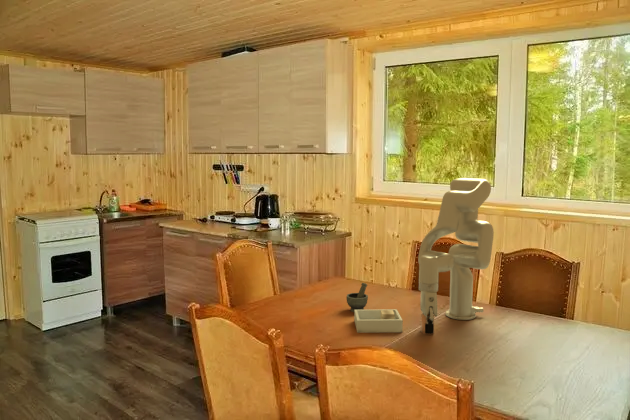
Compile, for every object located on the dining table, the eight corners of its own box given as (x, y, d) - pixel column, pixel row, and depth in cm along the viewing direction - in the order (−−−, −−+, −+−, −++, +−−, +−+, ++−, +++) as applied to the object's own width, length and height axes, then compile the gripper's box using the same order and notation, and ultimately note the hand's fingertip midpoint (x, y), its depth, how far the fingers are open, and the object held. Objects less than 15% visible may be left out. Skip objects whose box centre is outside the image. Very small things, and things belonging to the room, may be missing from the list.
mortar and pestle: (357, 315, 228) (358, 288, 226) (342, 310, 234) (342, 284, 233) (374, 309, 235) (374, 283, 234) (358, 305, 242) (358, 280, 241)
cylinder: (432, 330, 209) (432, 313, 208) (435, 334, 204) (435, 317, 203) (419, 330, 209) (420, 313, 208) (422, 334, 204) (422, 317, 203)
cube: (392, 322, 215) (392, 310, 215) (394, 326, 210) (394, 314, 210) (380, 322, 215) (380, 310, 215) (382, 326, 210) (382, 314, 210)
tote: (396, 320, 220) (396, 309, 219) (402, 332, 206) (402, 320, 205) (354, 321, 220) (354, 309, 219) (357, 332, 206) (357, 320, 205)
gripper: (443, 292, 196) (442, 338, 198) (432, 280, 212) (431, 323, 215) (423, 292, 195) (422, 338, 198) (414, 280, 212) (413, 323, 215)
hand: (427, 330), depth 206 cm, fingers closed on cylinder, 5 cm apart
